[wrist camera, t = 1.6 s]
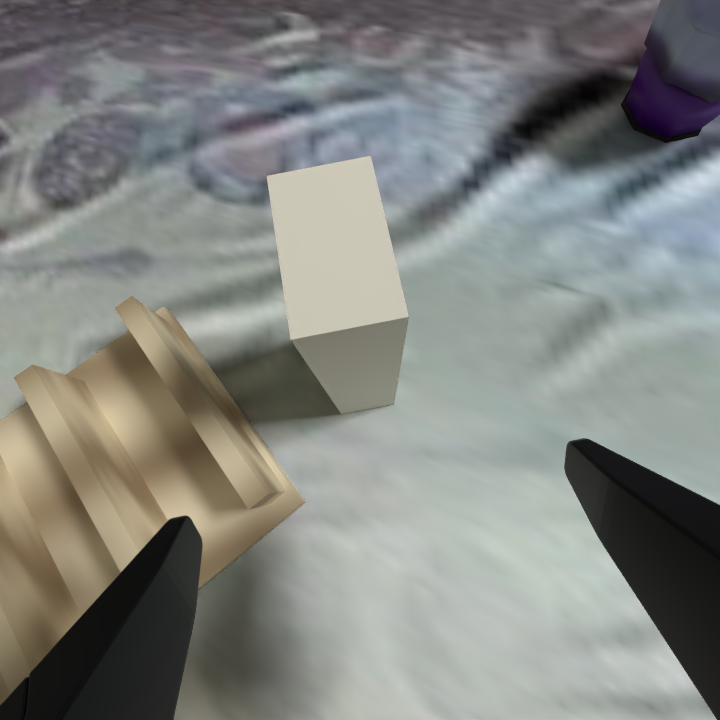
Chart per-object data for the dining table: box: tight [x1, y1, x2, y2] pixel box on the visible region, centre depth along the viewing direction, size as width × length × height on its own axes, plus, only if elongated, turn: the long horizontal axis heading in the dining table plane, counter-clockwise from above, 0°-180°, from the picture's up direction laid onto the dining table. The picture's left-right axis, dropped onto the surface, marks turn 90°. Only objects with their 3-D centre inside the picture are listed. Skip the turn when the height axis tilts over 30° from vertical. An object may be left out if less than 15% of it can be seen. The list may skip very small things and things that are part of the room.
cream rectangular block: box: [267, 156, 409, 414], centre depth 17 cm, size 5×3×13 cm, turn 11°
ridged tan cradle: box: [0, 296, 306, 705], centre depth 20 cm, size 14×18×4 cm
